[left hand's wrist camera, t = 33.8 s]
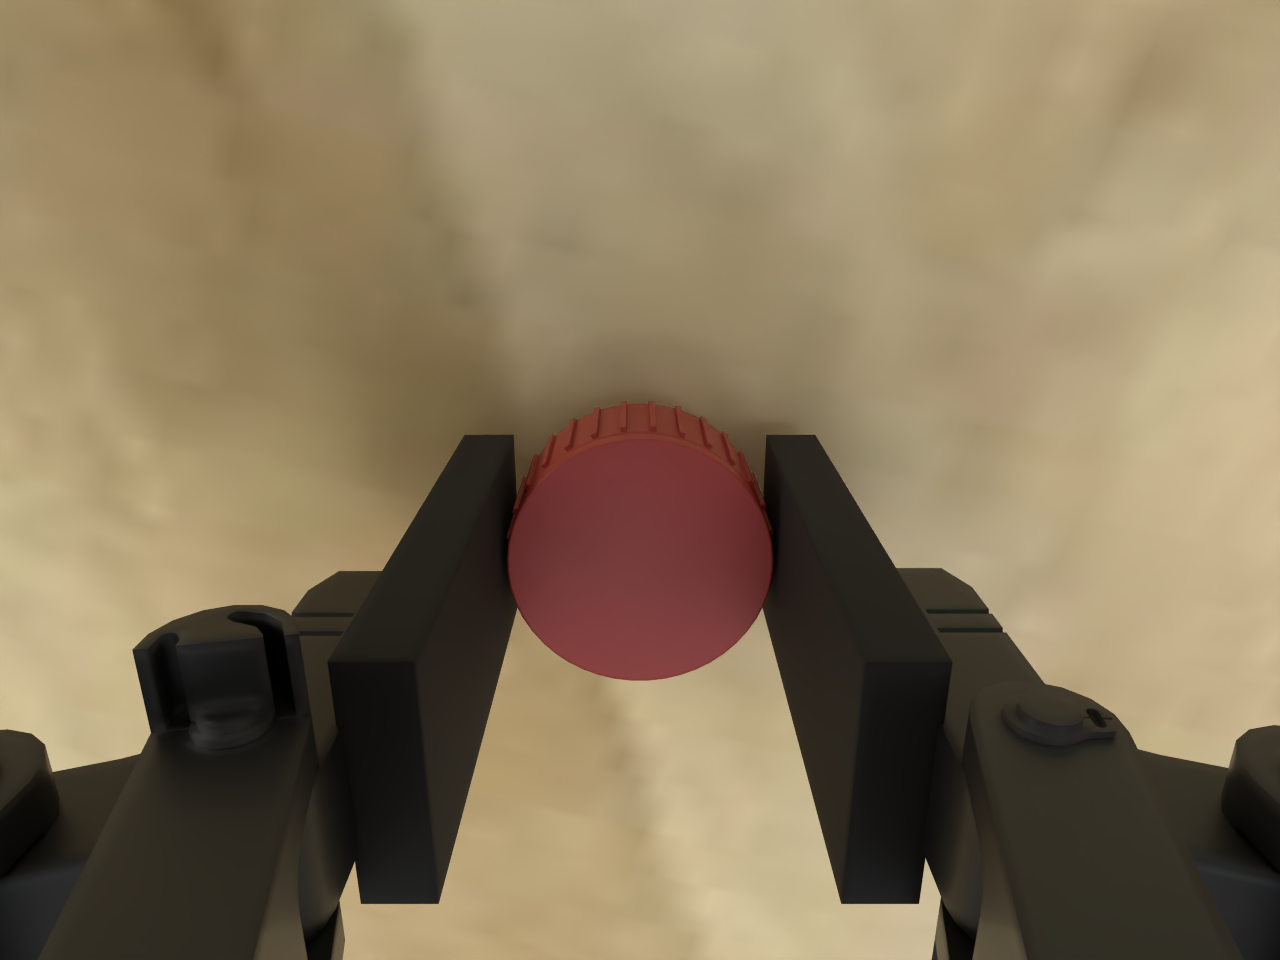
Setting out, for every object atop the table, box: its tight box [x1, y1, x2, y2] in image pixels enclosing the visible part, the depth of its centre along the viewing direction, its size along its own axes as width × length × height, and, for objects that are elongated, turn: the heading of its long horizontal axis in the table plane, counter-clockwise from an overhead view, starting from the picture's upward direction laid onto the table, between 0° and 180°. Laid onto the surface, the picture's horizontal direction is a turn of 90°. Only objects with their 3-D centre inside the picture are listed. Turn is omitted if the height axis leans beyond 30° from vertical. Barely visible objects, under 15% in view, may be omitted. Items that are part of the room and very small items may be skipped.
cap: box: [507, 401, 774, 680], centre depth 14 cm, size 4×4×2 cm
